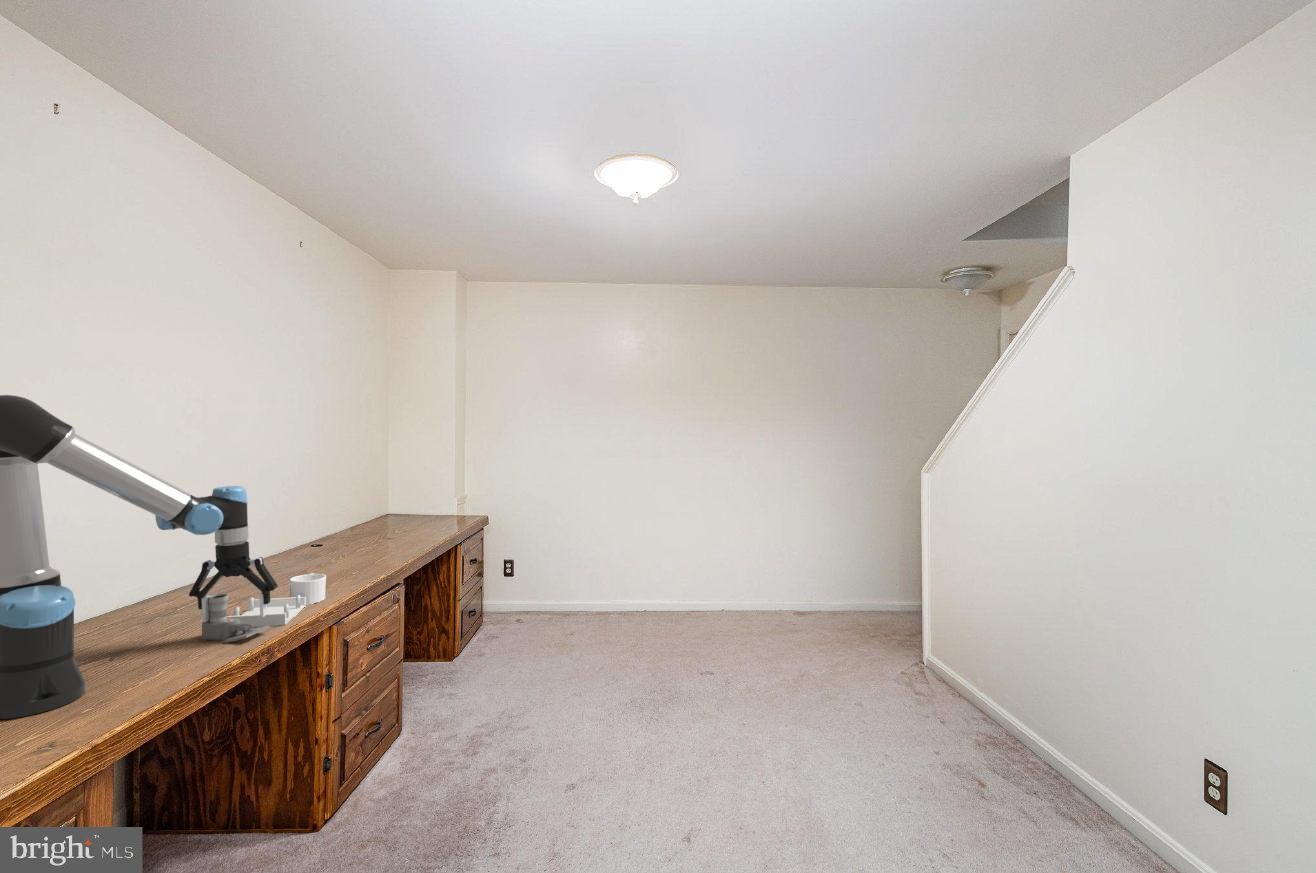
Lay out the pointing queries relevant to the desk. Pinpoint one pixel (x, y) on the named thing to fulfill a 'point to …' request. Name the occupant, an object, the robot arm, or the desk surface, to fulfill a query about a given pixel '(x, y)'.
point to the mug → (309, 587)
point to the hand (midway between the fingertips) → (235, 618)
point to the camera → (225, 623)
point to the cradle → (271, 611)
